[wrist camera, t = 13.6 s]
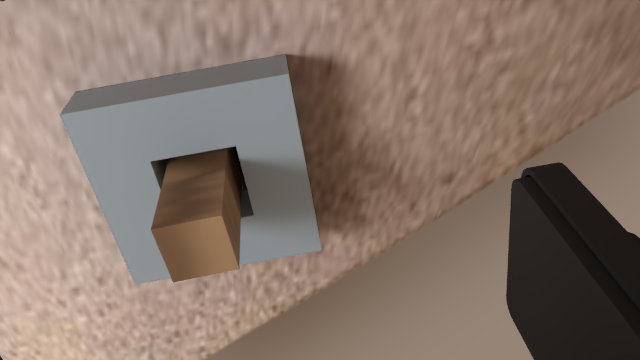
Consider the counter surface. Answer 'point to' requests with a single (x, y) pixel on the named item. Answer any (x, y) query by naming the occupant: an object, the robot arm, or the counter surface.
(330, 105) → the counter surface
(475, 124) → the counter surface
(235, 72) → the socket block
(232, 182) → the square bit
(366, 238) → the counter surface
